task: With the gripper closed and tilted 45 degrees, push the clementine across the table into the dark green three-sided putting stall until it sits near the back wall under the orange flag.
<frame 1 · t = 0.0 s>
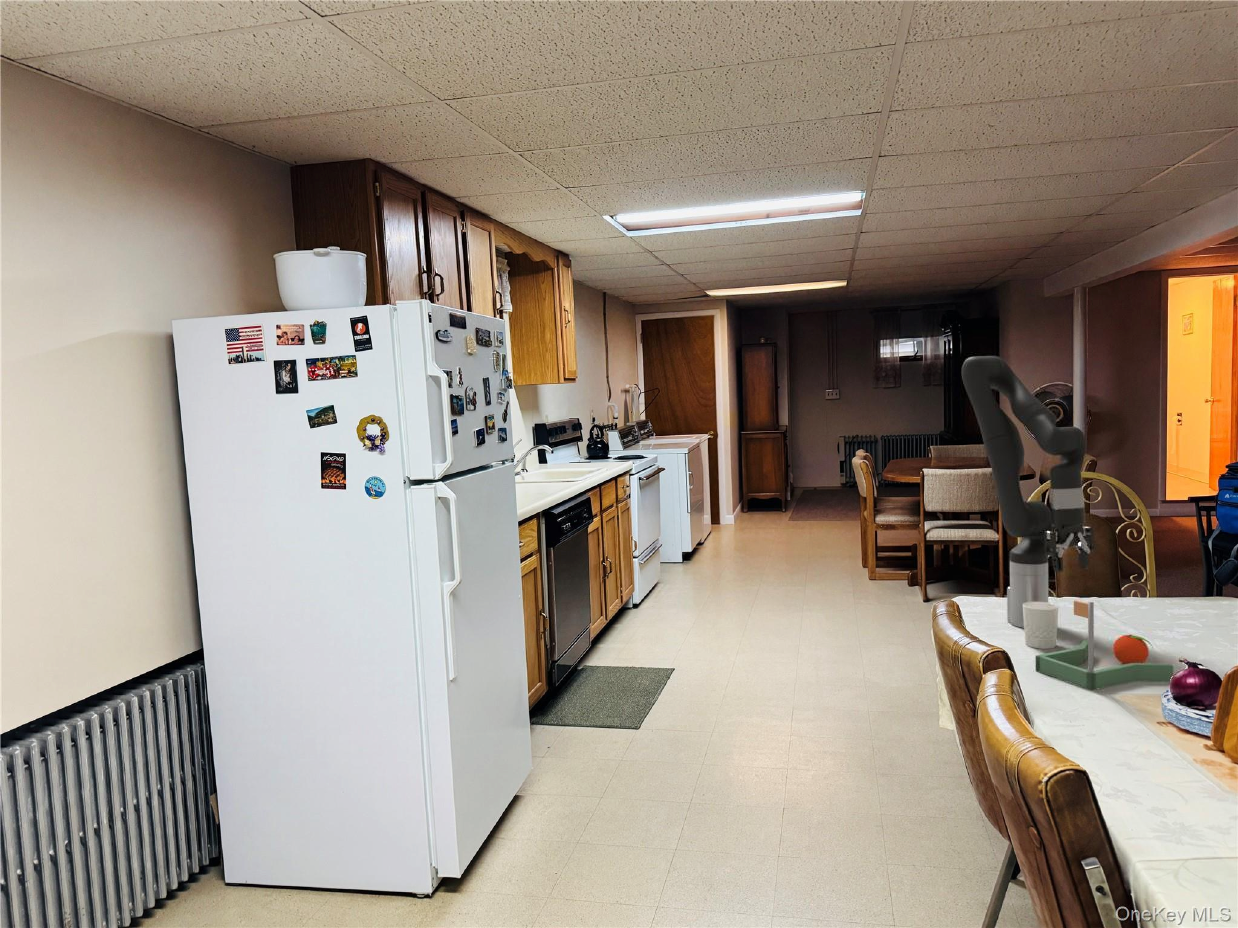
hand: (1071, 569, 212), 17 cm above the table, tool pointing down, fingers open, 8 cm apart
putting stall: (1087, 674, 185), on the table
white cup: (1040, 645, 207), on the table
clementine: (1133, 666, 189), on the table
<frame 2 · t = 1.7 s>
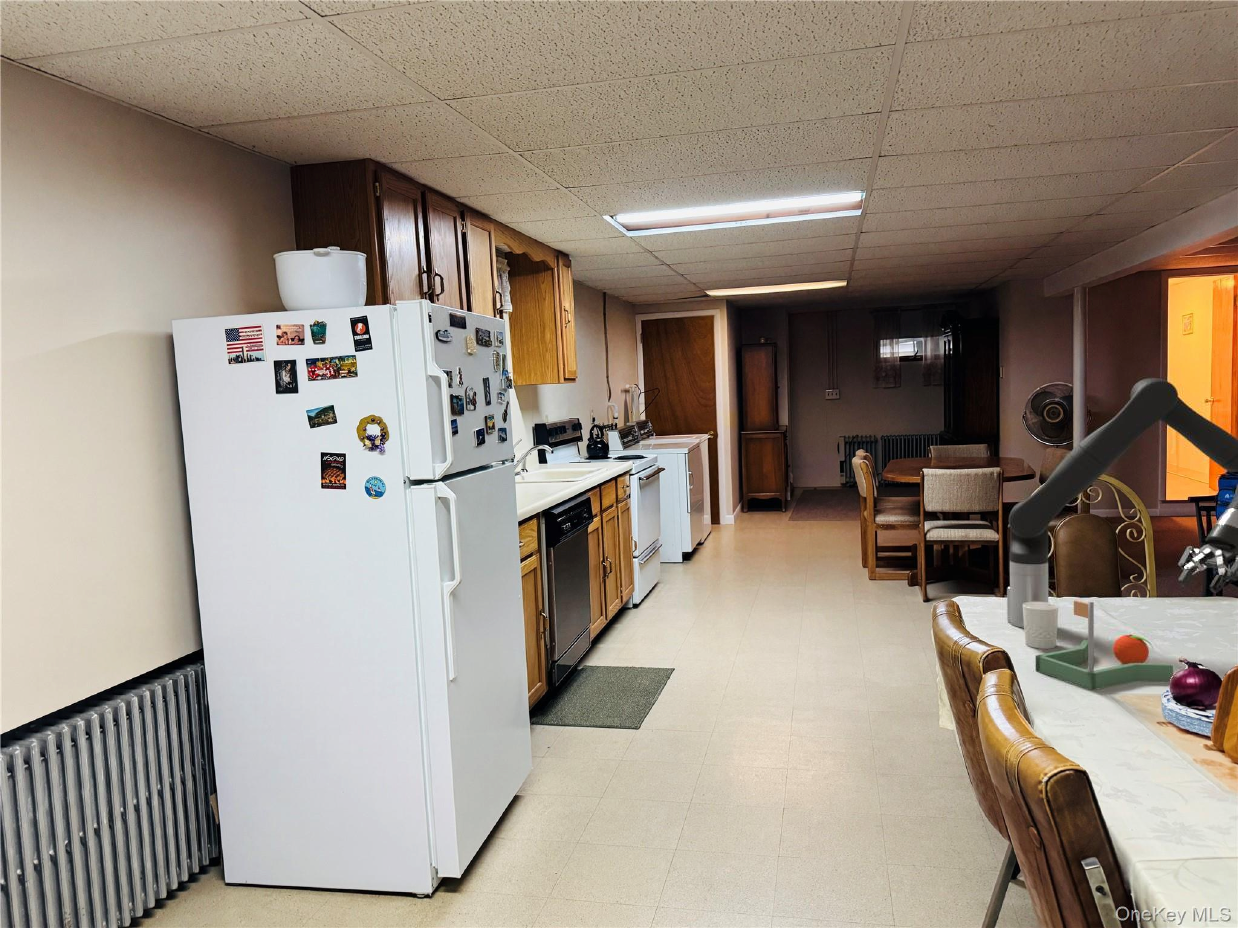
hand: (1197, 587, 195), 16 cm above the table, tool tilted 45°, fingers open, 6 cm apart
nothing on the table moved.
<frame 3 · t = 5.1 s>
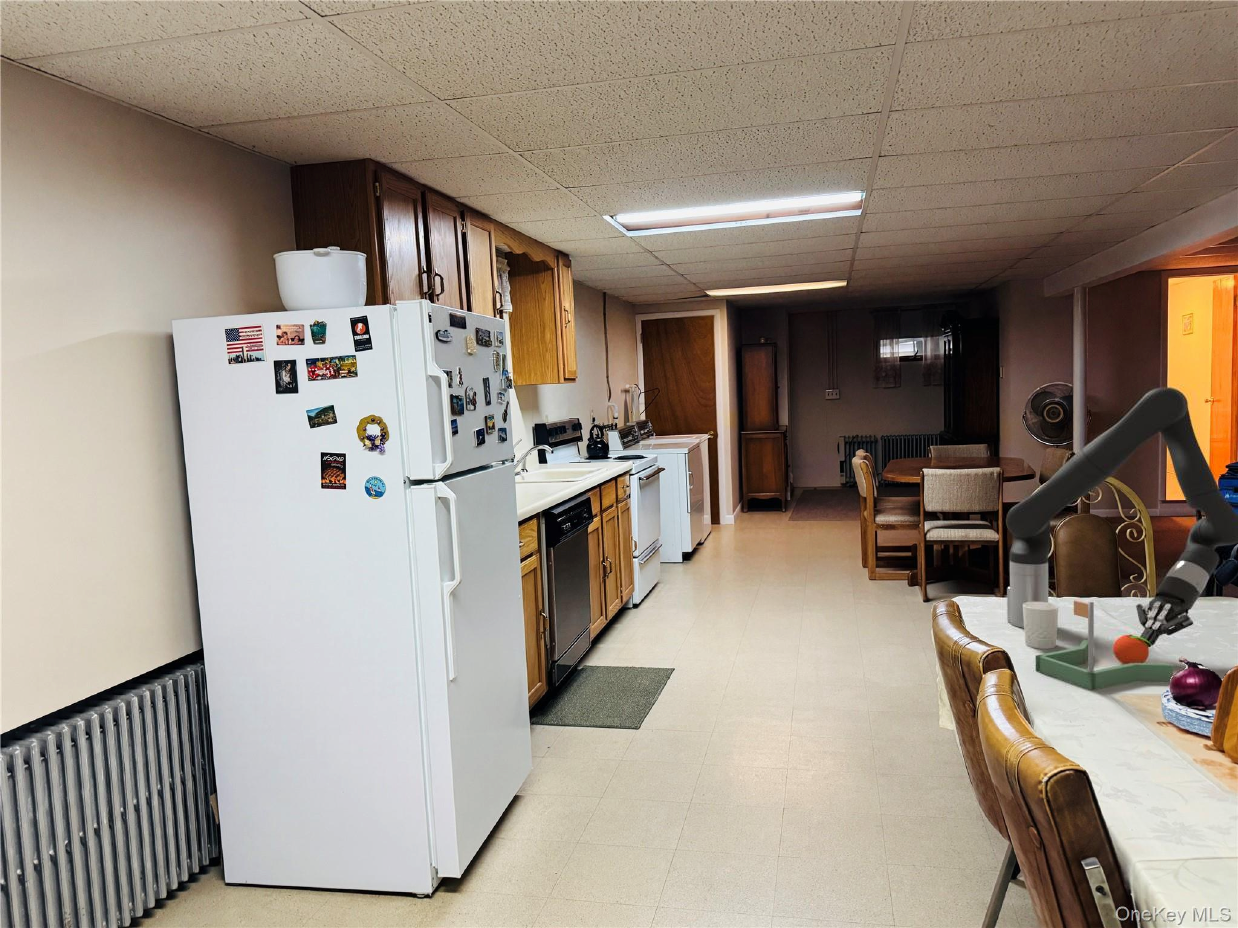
hand: (1144, 644, 190), 4 cm above the table, tool tilted 45°, fingers closed
clementine: (1133, 666, 189), on the table, touching gripper
everything else where it was.
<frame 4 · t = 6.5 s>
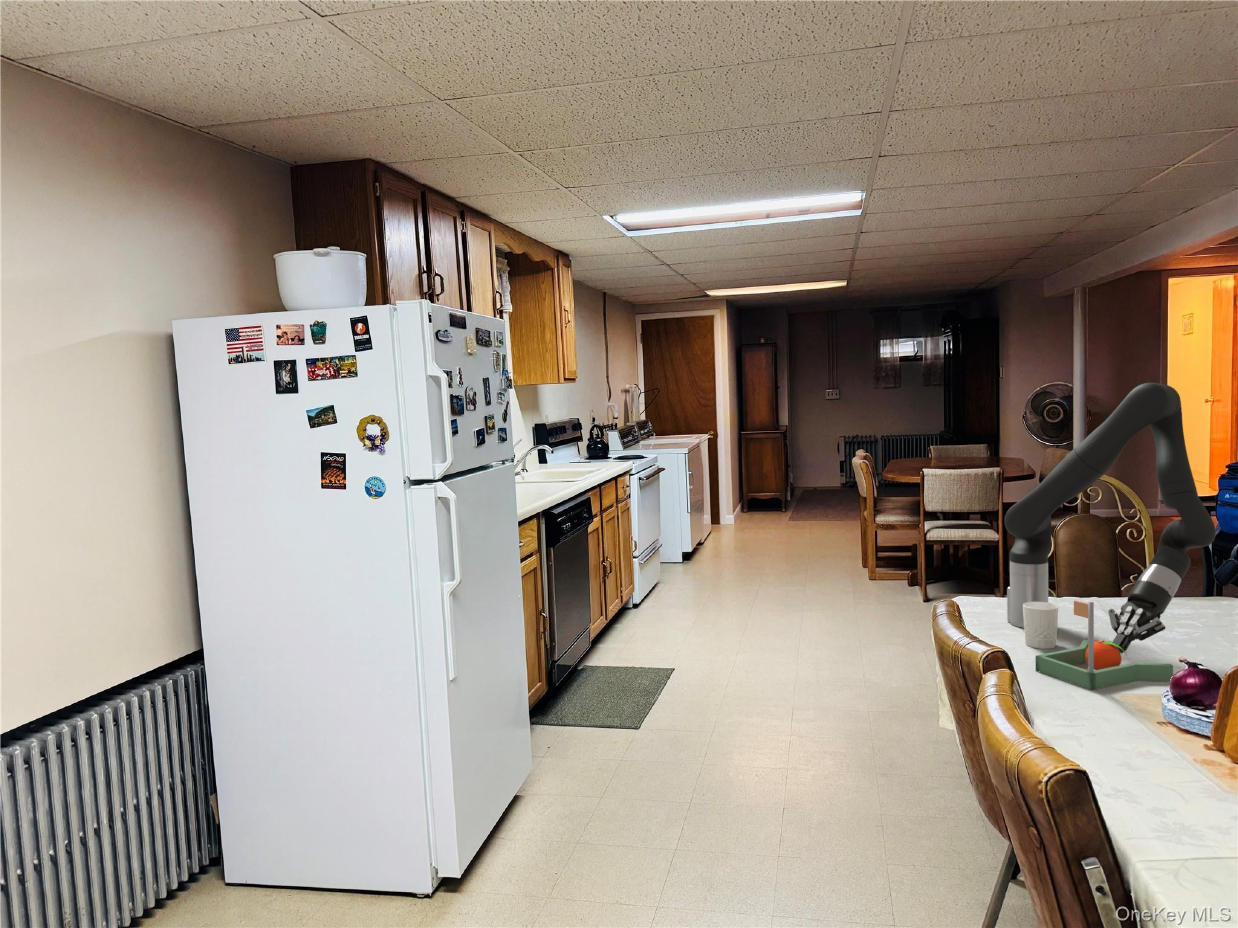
hand: (1116, 650, 187), 4 cm above the table, tool tilted 45°, fingers closed
clementine: (1106, 673, 186), on the table, touching gripper
everything else where it was.
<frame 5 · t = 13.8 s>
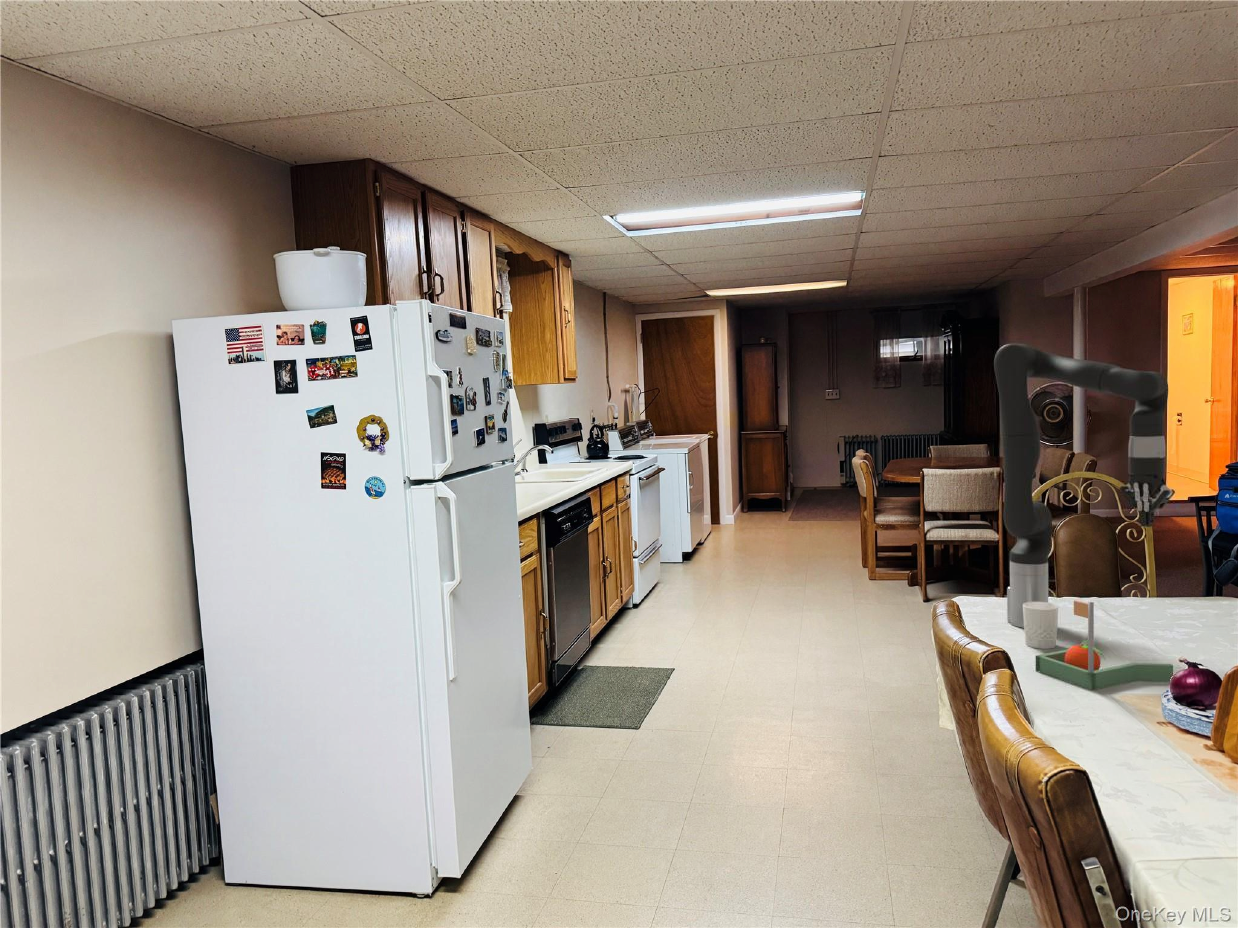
hand: (1146, 526, 203), 29 cm above the table, tool pointing down, fingers closed
clementine: (1085, 677, 184), on the table
everything else where it was.
at the end: clementine inside the target area on the putting stall (1.2 cm from its centre), point 0.0 cm above the putting stall's base; clementine touching table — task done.
